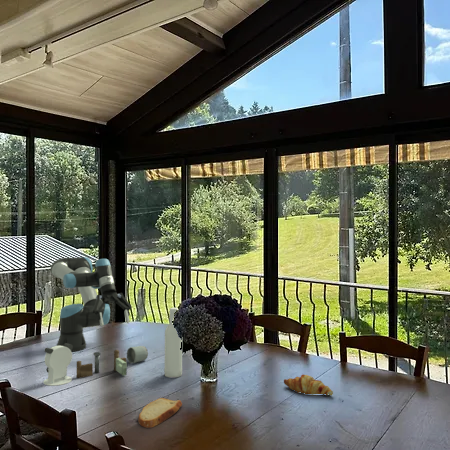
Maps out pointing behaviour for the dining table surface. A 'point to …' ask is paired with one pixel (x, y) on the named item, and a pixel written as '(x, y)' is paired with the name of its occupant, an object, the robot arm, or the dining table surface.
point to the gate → (121, 366)
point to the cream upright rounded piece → (58, 364)
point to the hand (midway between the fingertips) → (115, 324)
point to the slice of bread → (158, 412)
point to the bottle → (172, 350)
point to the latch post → (96, 361)
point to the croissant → (307, 385)
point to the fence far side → (84, 370)
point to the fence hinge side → (116, 355)
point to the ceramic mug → (137, 354)
